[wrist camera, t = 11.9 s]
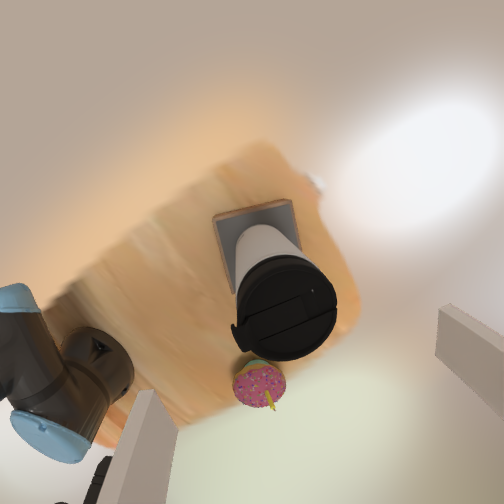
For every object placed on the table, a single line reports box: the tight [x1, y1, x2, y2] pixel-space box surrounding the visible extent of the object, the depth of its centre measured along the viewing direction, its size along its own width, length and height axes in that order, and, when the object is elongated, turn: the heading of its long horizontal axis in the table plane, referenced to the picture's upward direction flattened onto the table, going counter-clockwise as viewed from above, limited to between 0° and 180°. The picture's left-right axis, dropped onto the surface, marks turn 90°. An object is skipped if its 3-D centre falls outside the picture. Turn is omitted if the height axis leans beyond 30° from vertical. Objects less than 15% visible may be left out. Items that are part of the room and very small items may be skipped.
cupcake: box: [232, 359, 286, 411], centre depth 39 cm, size 9×8×12 cm
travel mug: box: [231, 224, 337, 361], centre depth 25 cm, size 6×7×20 cm
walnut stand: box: [212, 199, 302, 294], centre depth 38 cm, size 10×10×6 cm
